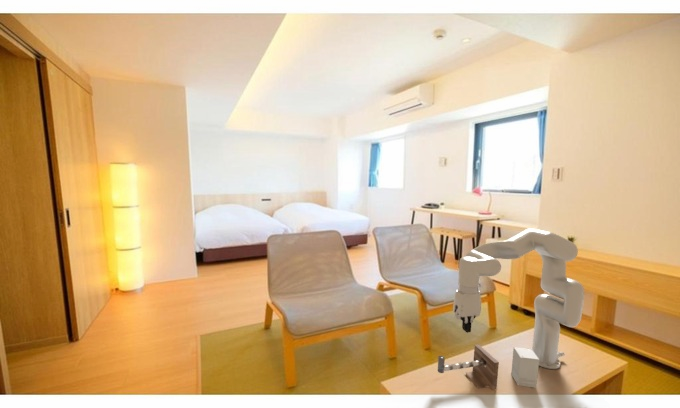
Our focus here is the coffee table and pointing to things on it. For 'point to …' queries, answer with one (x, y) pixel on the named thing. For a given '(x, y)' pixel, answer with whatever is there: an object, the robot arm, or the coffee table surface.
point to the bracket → (484, 369)
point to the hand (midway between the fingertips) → (466, 330)
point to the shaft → (456, 365)
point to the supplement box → (525, 367)
